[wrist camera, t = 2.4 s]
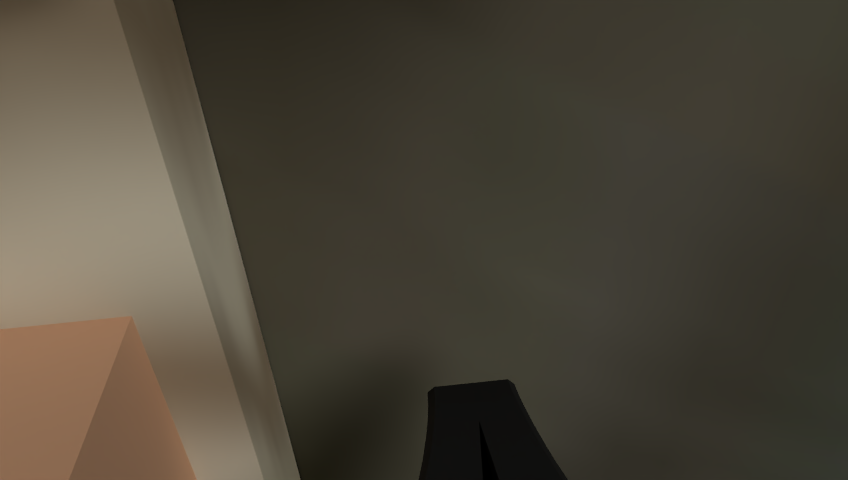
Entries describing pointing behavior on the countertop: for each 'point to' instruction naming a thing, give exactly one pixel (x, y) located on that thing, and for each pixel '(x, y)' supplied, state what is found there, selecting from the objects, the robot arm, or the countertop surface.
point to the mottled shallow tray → (132, 218)
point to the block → (84, 406)
